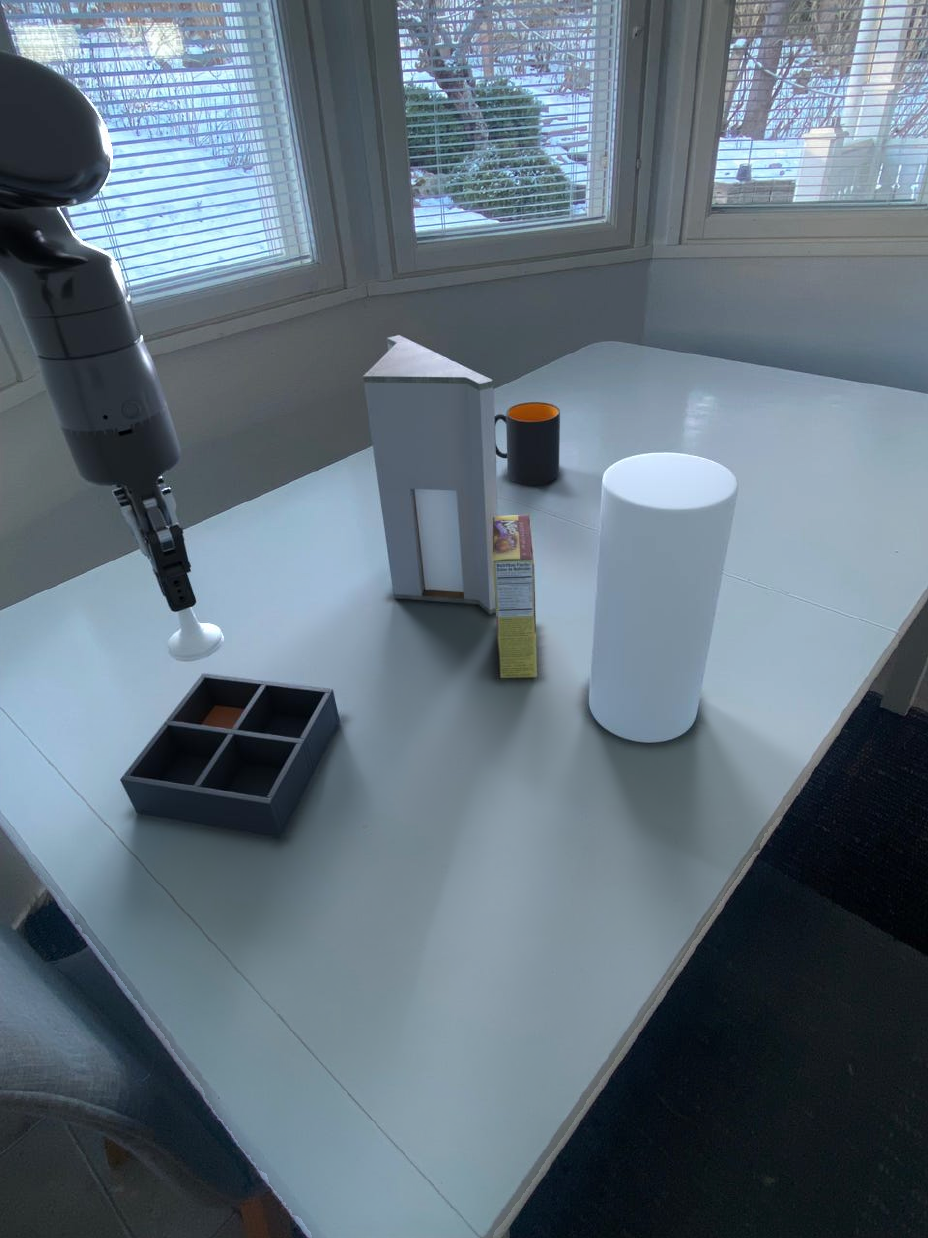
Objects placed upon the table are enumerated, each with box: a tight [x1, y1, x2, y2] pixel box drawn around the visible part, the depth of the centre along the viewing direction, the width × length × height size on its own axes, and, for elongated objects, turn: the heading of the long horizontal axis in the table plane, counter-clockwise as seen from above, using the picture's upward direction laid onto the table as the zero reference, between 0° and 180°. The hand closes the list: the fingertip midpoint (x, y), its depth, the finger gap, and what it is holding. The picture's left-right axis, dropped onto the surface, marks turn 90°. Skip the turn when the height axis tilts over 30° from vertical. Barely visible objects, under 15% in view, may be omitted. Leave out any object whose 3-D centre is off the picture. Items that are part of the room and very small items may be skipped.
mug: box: [495, 401, 561, 486], centre depth 116 cm, size 8×12×10 cm
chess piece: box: [167, 607, 225, 662], centre depth 64 cm, size 5×5×10 cm
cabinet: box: [362, 334, 499, 615], centre depth 86 cm, size 21×10×28 cm, turn 31°
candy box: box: [493, 514, 538, 679], centre depth 77 cm, size 9×4×15 cm, turn 178°
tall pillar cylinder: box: [588, 452, 739, 744], centre depth 67 cm, size 11×11×25 cm
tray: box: [119, 672, 341, 839], centre depth 69 cm, size 14×14×5 cm
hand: (179, 599), depth 64 cm, fingers closed on chess piece
